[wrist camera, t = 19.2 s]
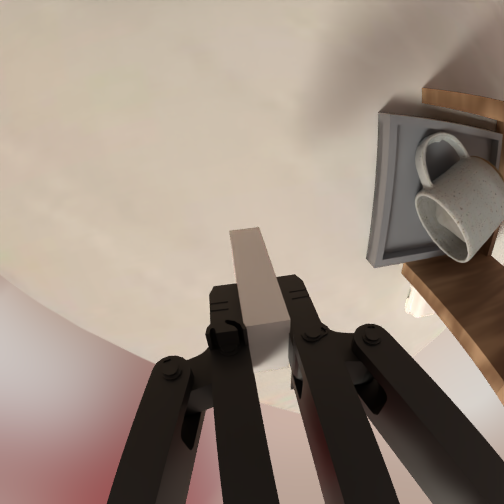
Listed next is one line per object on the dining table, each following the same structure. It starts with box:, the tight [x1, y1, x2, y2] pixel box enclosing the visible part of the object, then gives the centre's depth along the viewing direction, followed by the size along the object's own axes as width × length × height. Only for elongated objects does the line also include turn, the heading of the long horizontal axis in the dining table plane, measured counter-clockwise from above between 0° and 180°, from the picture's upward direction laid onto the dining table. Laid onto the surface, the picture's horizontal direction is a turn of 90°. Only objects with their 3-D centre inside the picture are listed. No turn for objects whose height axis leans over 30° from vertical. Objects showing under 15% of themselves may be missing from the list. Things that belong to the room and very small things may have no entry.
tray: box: [366, 112, 503, 268], centre depth 25 cm, size 14×17×2 cm
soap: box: [405, 285, 435, 318], centre depth 32 cm, size 9×7×3 cm
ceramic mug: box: [415, 132, 504, 263], centre depth 21 cm, size 11×8×8 cm
